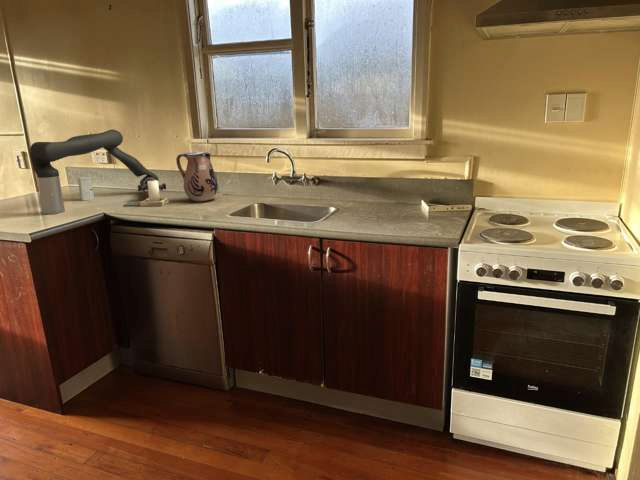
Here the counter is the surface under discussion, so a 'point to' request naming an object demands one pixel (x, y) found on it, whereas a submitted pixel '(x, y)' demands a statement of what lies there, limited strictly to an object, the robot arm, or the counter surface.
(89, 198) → the skincare box
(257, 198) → the counter surface
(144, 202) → the dispenser tray
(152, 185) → the white pillar candle
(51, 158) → the robot arm
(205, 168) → the ceramic pitcher
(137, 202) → the tear pad
